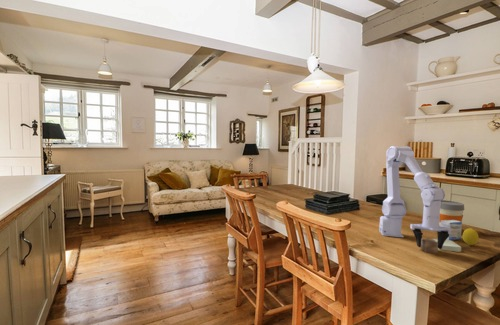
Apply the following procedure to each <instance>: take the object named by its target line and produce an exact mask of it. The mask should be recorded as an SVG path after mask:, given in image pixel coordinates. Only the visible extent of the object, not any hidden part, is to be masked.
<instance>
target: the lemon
mask: <svg viewBox="0 0 500 325" xmlns="http://www.w3.org/2000/svg"><path fill="white" fill-rule="evenodd" d="M461 239H462V240H463V242H464V243H465V244H467V245H468V246H470V247H471V246H473V245H475V244H477V243H478V242H479V239H480V238H479V233H478V232H477V231H476V230H475V229H473V228H471V227H469V228H466V229H464V231H462V234H461Z"/></svg>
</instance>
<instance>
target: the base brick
mask: <svg viewBox="0 0 500 325" xmlns="http://www.w3.org/2000/svg"><path fill="white" fill-rule="evenodd" d="M432 239H433V240H435V241H436V242H437V241H438V238H432ZM438 250H439V251H447V252H448V251H450V252H458V253H462V246H460V245H459V244H457V243H456V242H454V240H445V242H444V244H443V246H442V249H439V248H438Z"/></svg>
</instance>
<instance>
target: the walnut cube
mask: <svg viewBox="0 0 500 325" xmlns="http://www.w3.org/2000/svg"><path fill="white" fill-rule="evenodd" d="M433 239H434V238H426V237H425V238H424V237H422V239H421V247H420V249H421V250H422V251H423V252H424V253H428V254H429V253H430V254H438V250H439V249H438V243H437V242H436V241H435V240H433Z"/></svg>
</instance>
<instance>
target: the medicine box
mask: <svg viewBox="0 0 500 325" xmlns="http://www.w3.org/2000/svg"><path fill="white" fill-rule="evenodd" d="M462 225H463V222H460V221H457V220H444V221H441V226H444V227H450V228H451V233H448V234H449V237H448V238H447V239H446V240H451V241H456V240H457V241H458V240H461V239H462V227H463V226H462Z"/></svg>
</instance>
